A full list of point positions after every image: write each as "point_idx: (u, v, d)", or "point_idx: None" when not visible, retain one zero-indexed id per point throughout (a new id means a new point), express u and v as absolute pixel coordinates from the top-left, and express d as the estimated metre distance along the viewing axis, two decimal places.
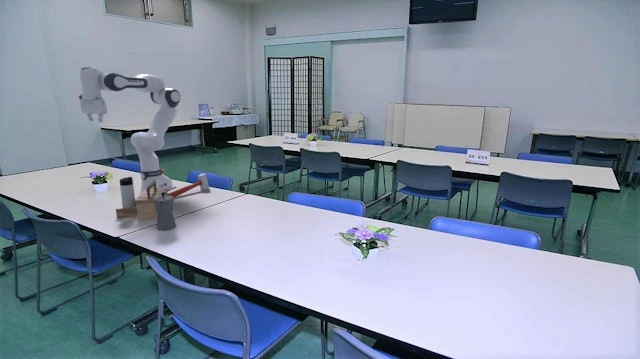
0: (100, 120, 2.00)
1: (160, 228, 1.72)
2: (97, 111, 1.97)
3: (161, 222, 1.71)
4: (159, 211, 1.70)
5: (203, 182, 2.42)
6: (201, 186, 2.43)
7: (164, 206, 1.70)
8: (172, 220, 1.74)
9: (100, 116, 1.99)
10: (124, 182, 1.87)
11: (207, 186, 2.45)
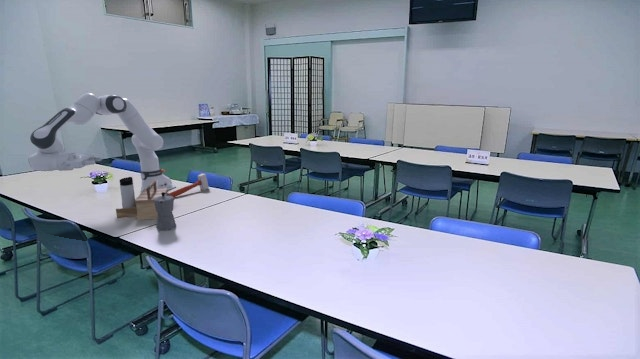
0: (92, 163, 1.79)
1: (160, 228, 1.72)
2: None
3: (161, 222, 1.71)
4: (159, 211, 1.70)
5: (203, 182, 2.42)
6: (201, 186, 2.43)
7: (164, 206, 1.70)
8: (172, 220, 1.74)
9: (87, 164, 1.78)
10: (124, 182, 1.87)
11: (207, 186, 2.45)
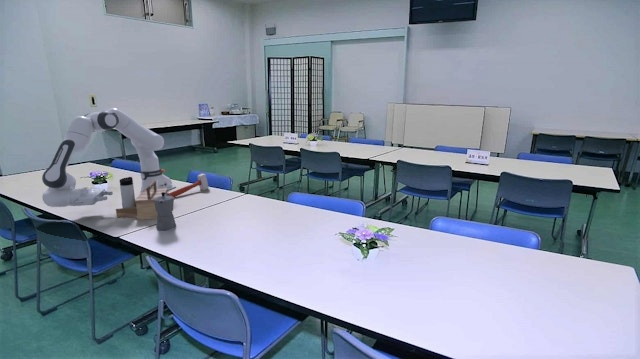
0: (104, 199, 1.85)
1: (160, 228, 1.72)
2: None
3: (161, 222, 1.71)
4: (159, 211, 1.70)
5: (202, 182, 2.42)
6: (200, 186, 2.43)
7: (164, 206, 1.70)
8: (172, 220, 1.74)
9: (99, 200, 1.84)
10: (124, 182, 1.87)
11: (206, 186, 2.45)
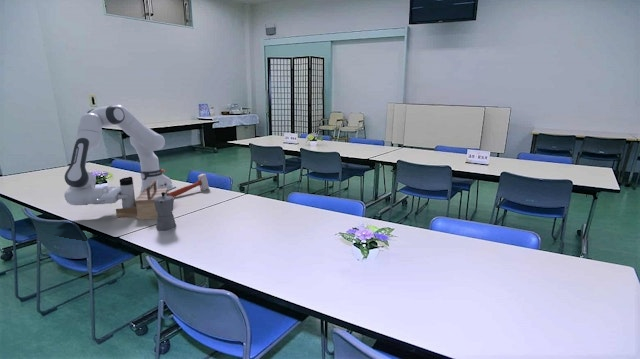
0: (125, 197, 1.88)
1: (160, 228, 1.72)
2: None
3: (161, 222, 1.71)
4: (159, 211, 1.70)
5: (203, 182, 2.41)
6: (201, 186, 2.43)
7: (164, 206, 1.70)
8: (172, 220, 1.74)
9: (120, 198, 1.87)
10: (124, 182, 1.88)
11: (207, 186, 2.45)
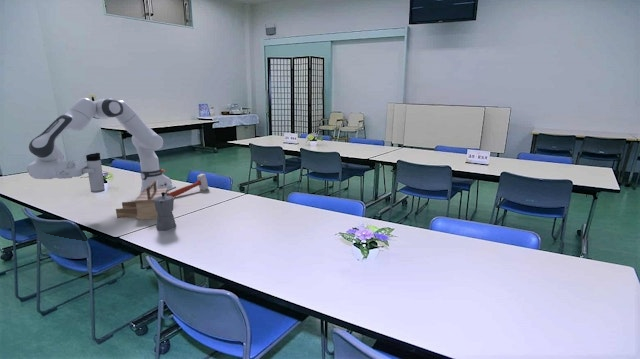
0: (92, 171, 1.81)
1: (160, 228, 1.72)
2: None
3: (161, 222, 1.71)
4: (159, 211, 1.70)
5: (202, 182, 2.41)
6: (200, 186, 2.43)
7: (164, 206, 1.70)
8: (172, 220, 1.74)
9: (86, 171, 1.80)
10: (90, 157, 1.81)
11: (206, 186, 2.45)
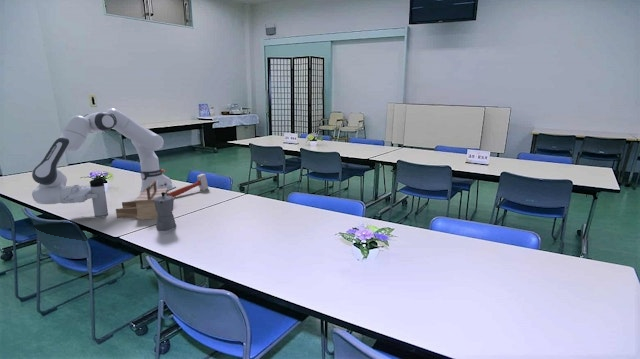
0: (95, 196, 1.83)
1: (160, 228, 1.72)
2: None
3: (161, 222, 1.71)
4: (159, 211, 1.70)
5: (202, 182, 2.41)
6: (200, 186, 2.42)
7: (164, 206, 1.70)
8: (172, 220, 1.74)
9: (89, 197, 1.82)
10: (94, 183, 1.84)
11: (206, 186, 2.45)
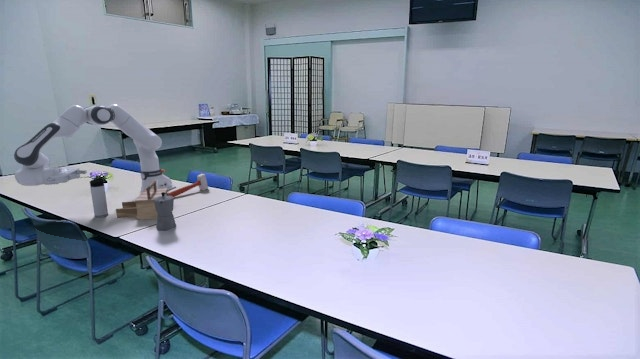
0: (77, 177, 1.86)
1: (160, 228, 1.72)
2: None
3: (161, 222, 1.71)
4: (159, 211, 1.70)
5: (202, 182, 2.41)
6: (200, 186, 2.42)
7: (164, 206, 1.70)
8: (172, 220, 1.74)
9: (72, 178, 1.84)
10: (94, 183, 1.84)
11: (206, 186, 2.44)
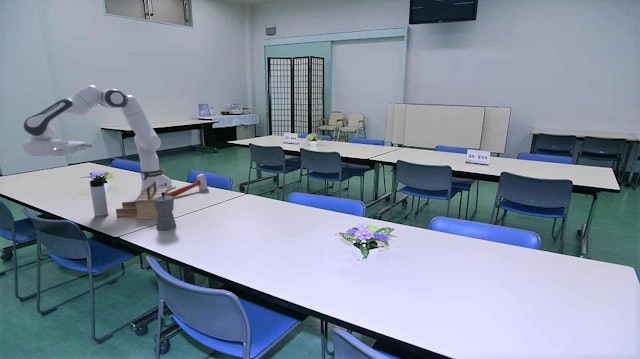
0: (84, 148, 1.91)
1: (160, 228, 1.72)
2: None
3: (161, 222, 1.71)
4: (159, 211, 1.70)
5: (202, 182, 2.41)
6: (200, 186, 2.42)
7: (164, 206, 1.70)
8: (172, 220, 1.74)
9: (78, 149, 1.89)
10: (94, 183, 1.84)
11: (206, 186, 2.45)
